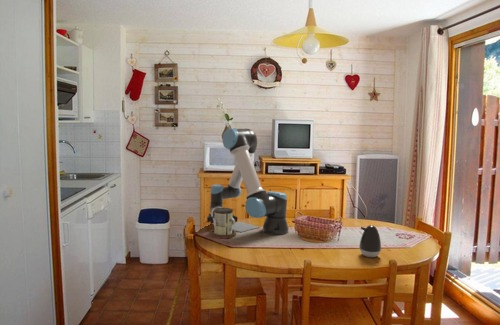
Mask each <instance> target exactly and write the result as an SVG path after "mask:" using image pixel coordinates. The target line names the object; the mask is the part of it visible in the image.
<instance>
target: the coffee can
mask: <svg viewBox="0 0 500 325" xmlns="http://www.w3.org/2000/svg"><path fill="white" fill-rule="evenodd" d="M214 211H215V216H214V219H215V221H216V226H214V225H213V227H214V228H213V229H214V232H213V233H214V234H217V235H230V234H233V233H232V217H233V215H234V214H233V213H234V212H233V211H234V209H233V208H228V207H222V208H217V209H215V210H214Z"/></svg>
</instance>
